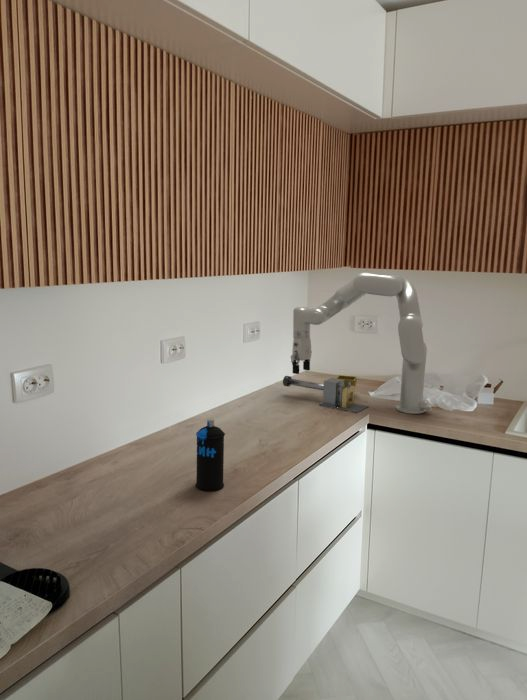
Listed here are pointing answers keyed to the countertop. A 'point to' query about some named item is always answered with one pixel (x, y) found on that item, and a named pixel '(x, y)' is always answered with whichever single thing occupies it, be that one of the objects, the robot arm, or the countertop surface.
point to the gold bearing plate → (348, 396)
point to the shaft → (304, 384)
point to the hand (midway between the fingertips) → (301, 371)
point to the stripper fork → (341, 392)
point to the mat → (355, 408)
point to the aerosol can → (210, 457)
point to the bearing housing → (331, 393)
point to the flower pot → (348, 380)
